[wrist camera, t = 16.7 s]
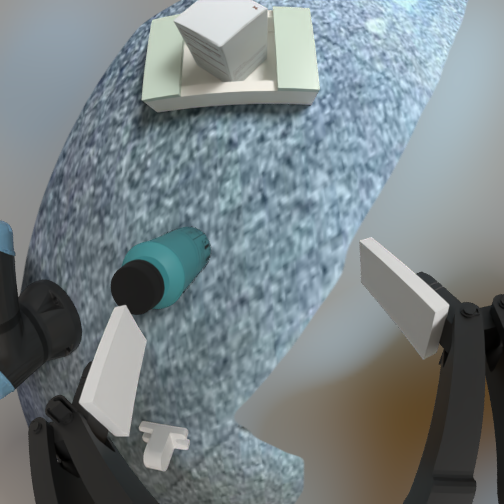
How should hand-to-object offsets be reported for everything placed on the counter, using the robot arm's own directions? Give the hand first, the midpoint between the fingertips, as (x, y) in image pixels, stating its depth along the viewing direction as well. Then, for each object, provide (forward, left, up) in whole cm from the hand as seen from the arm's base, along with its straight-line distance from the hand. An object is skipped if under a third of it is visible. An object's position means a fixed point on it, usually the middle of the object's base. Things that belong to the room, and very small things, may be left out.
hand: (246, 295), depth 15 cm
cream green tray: (-3, +26, -24) cm, 35 cm away
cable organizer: (-19, -39, -24) cm, 50 cm away
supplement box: (-3, +25, -23) cm, 35 cm away
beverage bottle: (-9, -1, -24) cm, 26 cm away
